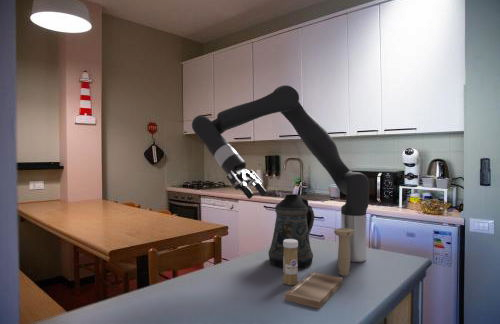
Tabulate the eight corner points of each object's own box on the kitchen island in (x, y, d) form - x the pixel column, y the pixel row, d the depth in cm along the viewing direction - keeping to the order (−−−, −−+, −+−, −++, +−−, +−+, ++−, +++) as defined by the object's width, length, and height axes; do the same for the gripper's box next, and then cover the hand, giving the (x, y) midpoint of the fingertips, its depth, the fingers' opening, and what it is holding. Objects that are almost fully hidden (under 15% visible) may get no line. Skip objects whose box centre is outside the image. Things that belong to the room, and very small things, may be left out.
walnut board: (312, 277, 110) (312, 271, 110) (342, 283, 104) (342, 277, 104) (285, 299, 93) (285, 293, 93) (319, 308, 88) (319, 301, 88)
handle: (356, 275, 111) (356, 230, 111) (339, 278, 109) (339, 232, 109) (347, 271, 116) (348, 227, 115) (331, 273, 114) (331, 229, 113)
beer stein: (262, 266, 121) (261, 197, 121) (278, 251, 139) (278, 191, 138) (307, 272, 115) (307, 199, 114) (318, 256, 133) (318, 193, 132)
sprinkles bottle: (290, 287, 102) (290, 242, 102) (280, 282, 106) (280, 239, 105) (301, 283, 105) (300, 240, 104) (290, 279, 108) (290, 237, 108)
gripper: (223, 152, 109) (254, 190, 103) (247, 152, 121) (275, 186, 115) (211, 168, 112) (239, 205, 106) (235, 167, 124) (262, 200, 118)
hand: (258, 195), depth 111 cm, fingers open, 8 cm apart
